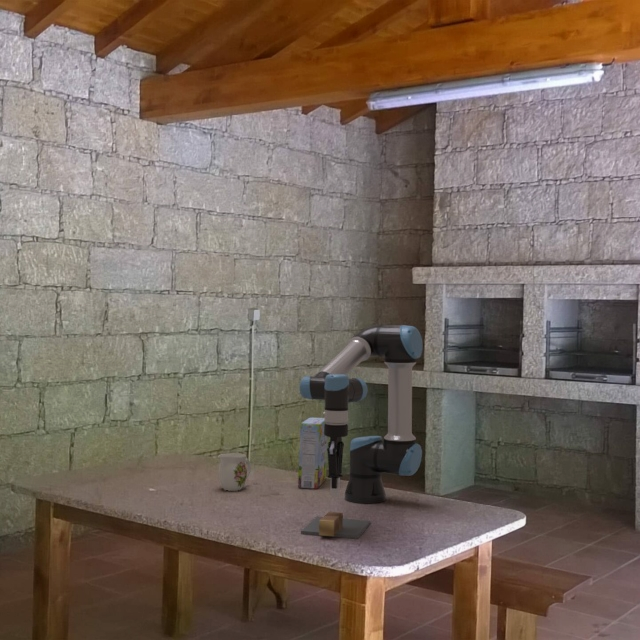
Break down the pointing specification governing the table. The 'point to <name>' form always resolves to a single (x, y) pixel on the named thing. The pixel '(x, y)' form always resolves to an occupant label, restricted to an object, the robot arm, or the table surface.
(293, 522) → the table surface
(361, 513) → the table surface
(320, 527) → the post
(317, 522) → the mat
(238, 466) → the pitcher
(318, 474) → the snack box
